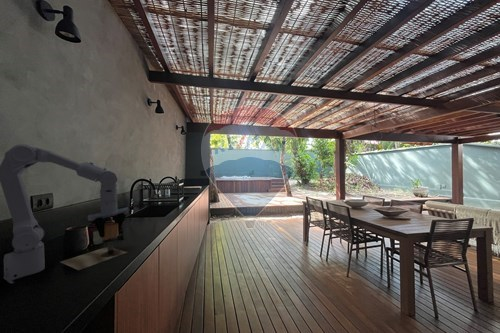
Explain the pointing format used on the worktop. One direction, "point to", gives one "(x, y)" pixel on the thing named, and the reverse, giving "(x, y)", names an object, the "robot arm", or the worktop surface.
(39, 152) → the robot arm
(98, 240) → the valve
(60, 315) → the worktop surface
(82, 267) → the post board
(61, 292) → the worktop surface
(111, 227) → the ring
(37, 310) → the worktop surface
